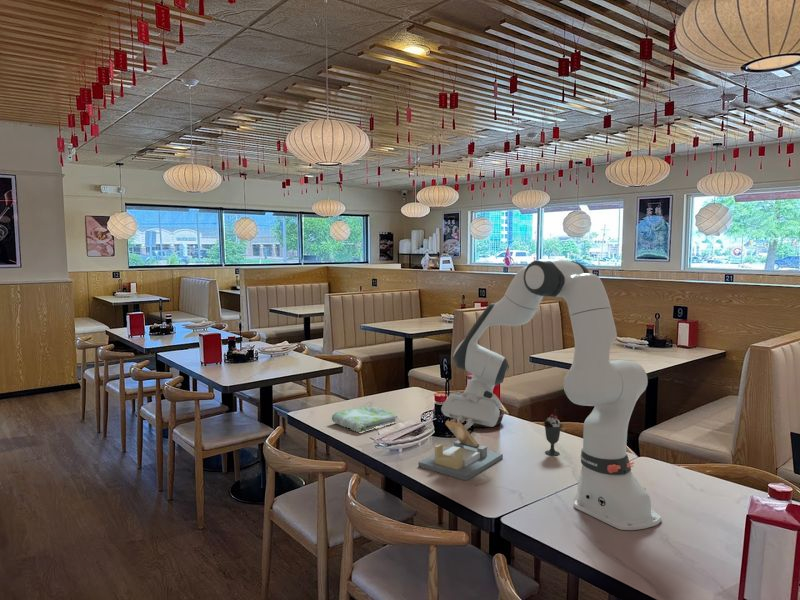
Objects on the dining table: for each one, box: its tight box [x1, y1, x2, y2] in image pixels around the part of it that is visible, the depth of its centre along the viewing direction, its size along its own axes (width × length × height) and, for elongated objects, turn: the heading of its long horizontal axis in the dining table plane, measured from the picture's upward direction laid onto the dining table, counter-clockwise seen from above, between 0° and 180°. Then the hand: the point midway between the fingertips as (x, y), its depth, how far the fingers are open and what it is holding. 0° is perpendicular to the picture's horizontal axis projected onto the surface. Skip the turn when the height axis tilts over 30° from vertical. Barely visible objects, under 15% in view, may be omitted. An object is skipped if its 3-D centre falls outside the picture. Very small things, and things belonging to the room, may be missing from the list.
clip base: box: [417, 439, 504, 481], centre depth 178 cm, size 23×18×7 cm
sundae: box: [542, 408, 564, 457], centre depth 185 cm, size 7×7×15 cm
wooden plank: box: [445, 420, 480, 449], centre depth 178 cm, size 2×6×15 cm
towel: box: [331, 405, 398, 433], centre depth 220 cm, size 18×21×5 cm
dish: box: [472, 408, 506, 428], centre depth 220 cm, size 18×22×5 cm
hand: (460, 431), depth 177 cm, fingers closed, pressing on wooden plank
